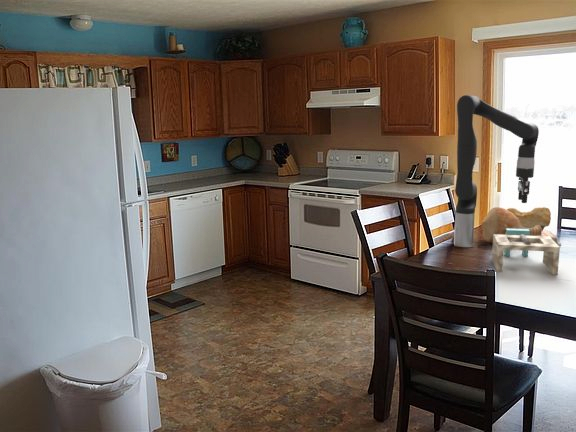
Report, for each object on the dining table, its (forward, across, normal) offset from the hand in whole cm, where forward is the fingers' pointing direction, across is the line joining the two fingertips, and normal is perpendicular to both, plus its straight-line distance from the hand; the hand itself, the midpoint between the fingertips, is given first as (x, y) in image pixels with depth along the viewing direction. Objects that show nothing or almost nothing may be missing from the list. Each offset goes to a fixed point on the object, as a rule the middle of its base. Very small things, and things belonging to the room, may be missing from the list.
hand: (522, 201), depth 261 cm
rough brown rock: (+26, -53, +14) cm, 61 cm away
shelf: (+26, +21, -1) cm, 33 cm away
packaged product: (+26, -30, +19) cm, 45 cm away
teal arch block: (+26, +1, -1) cm, 26 cm away
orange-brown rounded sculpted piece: (+26, -23, 0) cm, 35 cm away
